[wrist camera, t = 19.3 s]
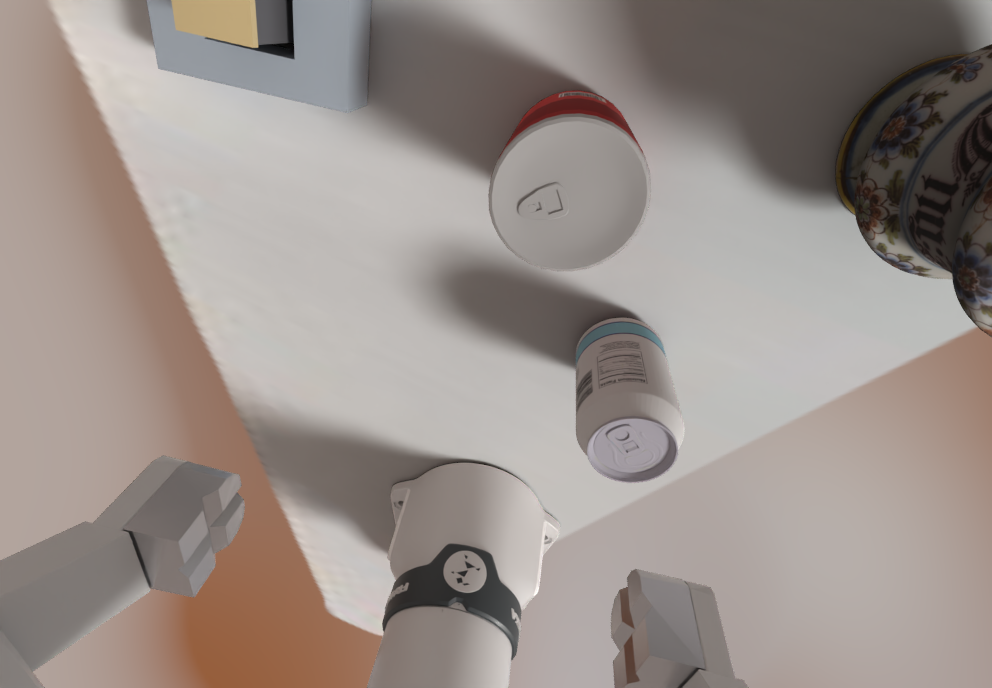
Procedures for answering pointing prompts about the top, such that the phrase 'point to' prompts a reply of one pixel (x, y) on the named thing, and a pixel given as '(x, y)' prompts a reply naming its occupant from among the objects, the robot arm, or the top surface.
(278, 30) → the plug
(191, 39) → the socket block
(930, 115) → the apothecary jar
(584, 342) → the beverage can
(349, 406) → the top surface
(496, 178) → the canned food
